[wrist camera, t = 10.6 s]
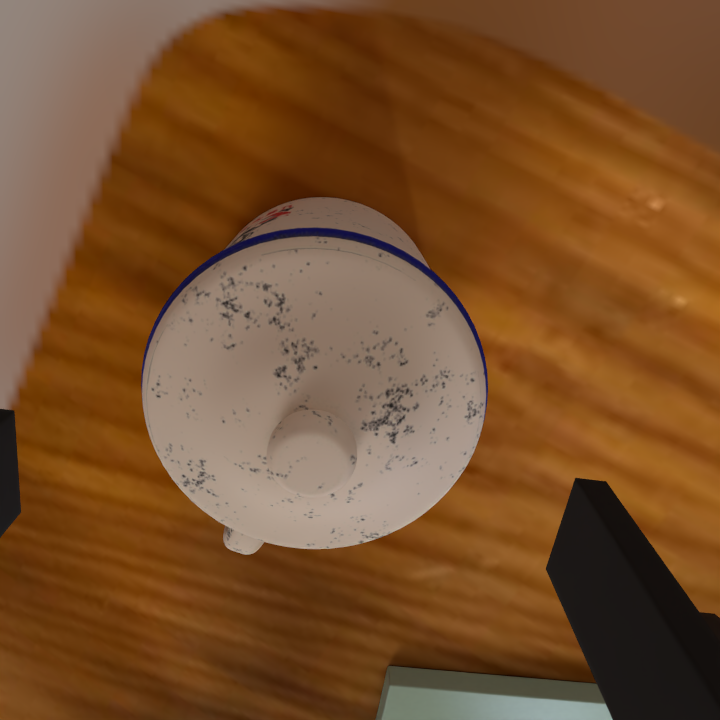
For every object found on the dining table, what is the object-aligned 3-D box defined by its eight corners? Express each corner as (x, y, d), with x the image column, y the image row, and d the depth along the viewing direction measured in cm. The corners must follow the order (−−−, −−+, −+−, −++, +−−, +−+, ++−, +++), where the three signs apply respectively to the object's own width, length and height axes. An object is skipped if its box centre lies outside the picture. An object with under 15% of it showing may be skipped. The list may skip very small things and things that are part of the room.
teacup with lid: (255, 146, 22) (171, 176, 11) (480, 248, 23) (602, 363, 12) (156, 422, 26) (20, 647, 15) (353, 493, 27) (362, 742, 16)
